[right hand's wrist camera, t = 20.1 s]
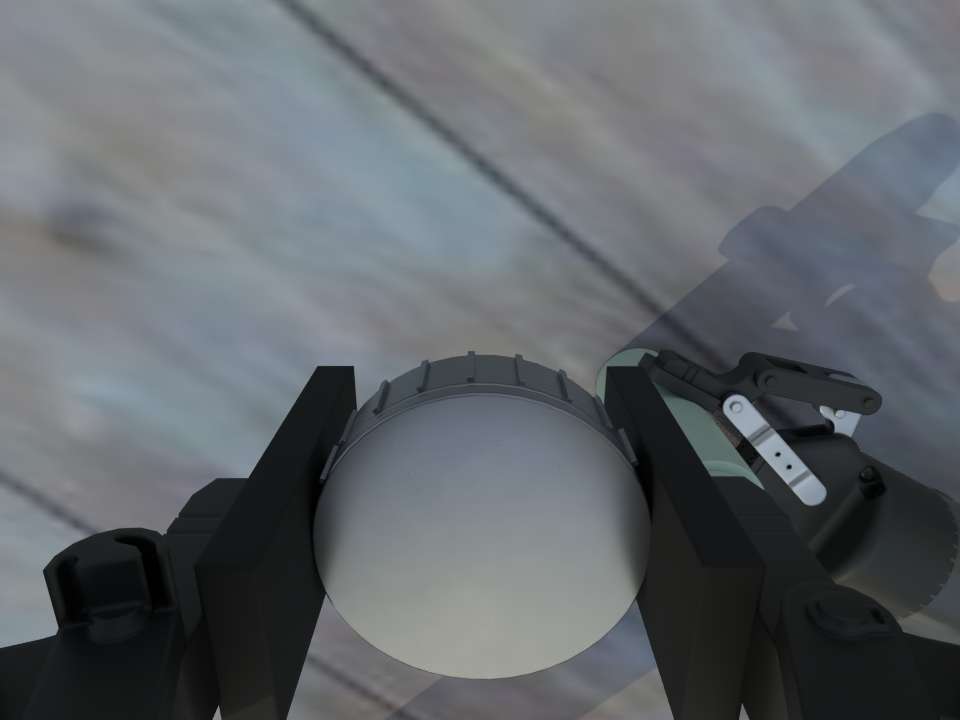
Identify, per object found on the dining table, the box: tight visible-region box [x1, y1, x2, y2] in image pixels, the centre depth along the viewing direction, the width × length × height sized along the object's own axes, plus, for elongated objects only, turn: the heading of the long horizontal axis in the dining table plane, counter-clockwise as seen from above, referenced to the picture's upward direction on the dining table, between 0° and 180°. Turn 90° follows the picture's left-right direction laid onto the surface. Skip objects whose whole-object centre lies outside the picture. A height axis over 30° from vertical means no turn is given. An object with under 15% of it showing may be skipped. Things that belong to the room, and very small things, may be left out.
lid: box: [311, 351, 652, 679], centre depth 11 cm, size 5×6×2 cm
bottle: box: [596, 348, 764, 490], centre depth 32 cm, size 5×5×15 cm
